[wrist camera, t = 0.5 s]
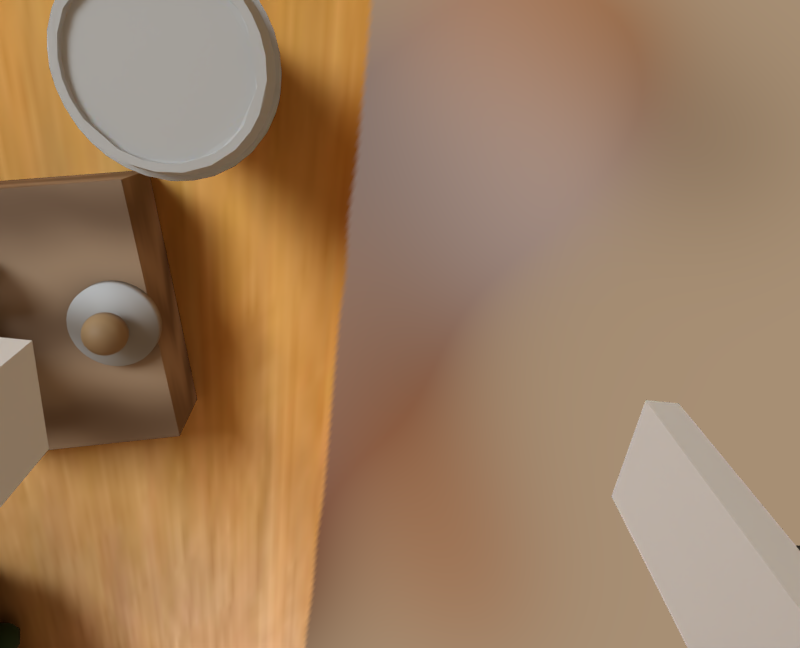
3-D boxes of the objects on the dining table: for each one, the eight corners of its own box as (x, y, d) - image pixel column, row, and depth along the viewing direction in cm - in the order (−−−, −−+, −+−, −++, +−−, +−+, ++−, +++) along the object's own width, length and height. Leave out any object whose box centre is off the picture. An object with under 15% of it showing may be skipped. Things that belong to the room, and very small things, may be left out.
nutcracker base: (-89, 187, 36) (-206, 211, 28) (156, 169, 37) (108, 186, 29) (-7, 420, 41) (-86, 492, 34) (204, 398, 42) (174, 463, 35)
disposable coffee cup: (264, 184, 38) (233, 219, 26) (112, 118, 35) (7, 125, 24) (321, 34, 35) (313, 2, 24) (160, -47, 33) (68, -126, 21)
